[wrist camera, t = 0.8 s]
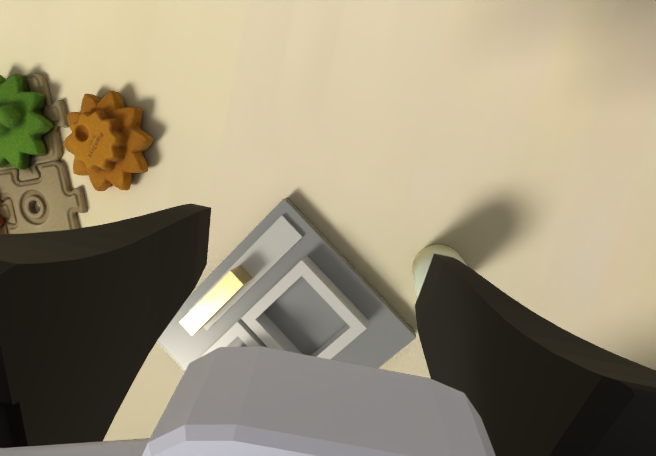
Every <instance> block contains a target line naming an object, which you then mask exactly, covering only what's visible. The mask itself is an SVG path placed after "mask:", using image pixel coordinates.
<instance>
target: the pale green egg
mask: <svg viewBox="0 0 656 456" xmlns="http://www.w3.org/2000/svg"><path fill="white" fill-rule="evenodd" d="M434 253H435V254H440V255H444V256H449V257H453V258H455V259H457V260H459V261H461V262H462V263H464V264H465V265H467V264H466V263H465V262H464V260H463V259H462V258H461V257H460V255H459V254H458V253H457V252H456V251H455V250H454V249H452V248H450V247H448V246H445V245H439V244H438V245H431V246H428V247H426V248H424V249H422V250H421V251H420V252H419V253H418V254H417V256H416V257H415V259H414V262H413V276H414V283H415V290H416V295H417V299H418V296H419V293H420V291H421V288H422V285H423V282H424V280H425V277H426V274H427V271H428V269H429V266H430V263H431V260H432V258H433V255H434Z"/></svg>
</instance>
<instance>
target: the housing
mask: <svg viewBox="0 0 656 456" xmlns="http://www.w3.org/2000/svg"><path fill="white" fill-rule="evenodd" d="M239 265H241V266H242V267H243V268H244V269H245V270H246V271H247V272H248V273H249V274H250V275H251V276H252V277H253V279H252V280H251V281H250V282H248V283H247V284H246V285H245V286H244V287H243V288H242V289H241V290H240V291H239V292H238V293H237V294H236V295H235V296H234V297H233V298H232V299H231V300H230V301H229V302H228V303H227V304H226V305H225V306H224V307H223V308H222V309H221V310H220V311H219V312H218V313H217V314H216V315H215V316H214V317H213V318H212V319H211V320H210V321H209V322H208V323H207V324H206V325H205V326H204V327H203V328H201V329H200V330H199V331H198V332H196V333H195V334H194V335H191V334H190V333H189V332H188V331H187V330H186V329H185V328H184V327H183V326H182V325H181V323H180V321H181V320H182V319H183V318H184V317H185V316H186V315H187V314H188V313H189V312H190V311H191V310H192V309H193V308H194V307H195V306H196V305H197V304H198V303H199V302H200V301H201V300H202V299H203V298H204V297H205V296H206V295H207V294H208V293H209V292H210V291H211V290H212V289H213V288H214V286H215V285H216V284H217V283H218V282H219V281H220V280H221V279H222V278H223V277H224V276H225V275H226V274H227V273H228V272H229V271H230V270H232V269H234V268H236V267H237V266H239ZM415 338H416V334H415V331H414V330H413V329H412V328H411V327H410V326H409V325H408V324H407V323H406V322H405V321H404V320H403V319H402V318H401V317H400V315H399V314H398V313H397V312H396V311H395V310H394V309H393V308H392V307H391V306H390V305H389V304H388V303H387V302H386V301H385V300H384V299H383V298H382V297H381V296H380V294H379V293H378V292H377V291H376V290H375V289H374V288H373V287H372V286H371V285H370V284H369V283H368V282H367V281H366V280H365V279H364V278H363V277H362V276H361V275H360V273H359V272H358V271H357V270H356V269H355V268H354V267H353V266H352V265H351V264H350V263H349V262H348V261H347V260H346V259H345V258H344V257H343V256H342V255H341V254H340V253H339V251H338V250H337V249H336V248H335V247H334V246H333V245H332V244H331V243H330V242H329V241H328V240H327V239H326V238H325V237H324V236H323V235H322V234H321V233H320V232H319V230H318V229H317V228H316V227H315V226H314V225H313V224H312V223H311V222H310V221H309V220H308V219H307V218H306V217H305V216H304V215H303V214H302V213H301V212H300V211H299V209H298V208H297V207H296V206H295V205H294V204H293V203H292V202H291V201H290V200H289V199H288V198H285V199H283V200H282V201H281V202H280V203H279V204H278V205H277V206H276V207H275V208H274V209H273V210H272V211H271V212H270V213H269V214H268V215H267V216H266V218H265V219H264V220H263V221H262V222H261V223H260V224H259V225H258V226H257V227H256V228H255V229H254V230H253V231H252V232H251V233H250V234H249V235H248V236H247V237H246V238H245V239H244V240H243V241H242V242H241V243H240V244H239V245H238V246H237V247H236V249H235V250H234V251H233V252H232V253H231V254H230V255H229V256H228V257H227V258H226V259H225V260H224V261H223V262H222V263H221V264H220V265H219V266H218V267H217V268H216V269H215V270H214V271H213V272H212V273H211V274H210V275H209V276H208V277H207V278H206V280H205V281H204V282H203V283H202V284H201V285H200V286H199V287H198V288H197V289H196V290H195V291H194V292H193V293H192V294H191V295H190V296H189V297H188V298H187V300H186V301H185V302H184V304H183V305H182V307H181V308H180V310H179V311H178V312H177V314H176V315H175V316H174V318H173V319H172V321H171V322H170V323H169V325H168V326H167V328H166V329H165V330H164V332H163V333H162V335H161V336H160V337H159V339H158V340H157V342H158V343H159V344H160V345H161V346H162V347H163V348H164V349H165V351H166V352H167V353H168V354H169V355H170V356H171V357H172V358H173V359H174V360H175V361H176V362H177V364H178V365H179V366H180V367H181V368H182V369H183V370H184V371H186V369H187V367H188V365H189V363H191V362H193V361H195V360H197V359H198V358H200V357H202V356H204V355H206V354H208V353H210V352H211V351H213V350H215V349H217V348H219V347H247V346H262V347H267V348H272V349H277V350H283V351H288V352H293V353H299V354H304V355H309V356H314V357H320V358H325V359H330V360H336V361H341V362H346V363H351V364H357V365H362V366H367V367H372V368H379V367H380V366H381V365H383V364H384V363H385V362H386V361H388V360H389V359H390V358H391V357H393V356H394V355H395V354H396V353H397V352H399V351H400V350H401V349H402V348H404V347H405V346H406V345H407V344H409V343H410V342H411V341H412V340H414V339H415ZM183 374H184V373H183Z"/></svg>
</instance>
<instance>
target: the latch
mask: <svg viewBox="0 0 656 456" xmlns="http://www.w3.org/2000/svg"><path fill="white" fill-rule="evenodd" d="M252 279H253V277H252V276H251V275H250V274H249V273H248V272H247V271H246V270H245V269H244V268H243V267H242V266H241V265H239V266H237V267H236V268H234V269H232V270H230V271H229V272H228V273H227V274H226V275H225V276H224V277H223V278H222V279H221V280H220V281H219V282H218V283H217V284H216V285H215V286H214V288H213V289H212V290H211V291H210V292H209V293H208V294H207V295H206V296H205V297H204V298H203V299H202V300H201V301H200V302H199V303H198V304H197V305H196V306H195V307H194V308H193V309H192V310H191V311H190V312H189V313H188V314H187V315H186V316H185V317H184V318H183V319H182V320H181V321H180V323H181V325H182V326H183V327H184V328H185V329H186V330H187V331H188V332H189V333H190V334H191V335H194V334H195V333H196V332H198V331H199V330H200V329H201V328H203V327H204V326H205V325H206V324H207V323H208V322H209V321H210V320H211V319H212V318H213V317H214V316H215V315H216V314H217V313H218V312H219V311H220V310H221V309H222V308H223V307H224V306H225V305H226V304H227V303H228V302H229V301H230V300H231V299H232V298H233V297H234V296H235V295H236V294H237V293H238V292H239V291H240V290H241V289H242V288H243V287H244V286H245V285H246V284H247V283H248V282H250V281H251V280H252Z"/></svg>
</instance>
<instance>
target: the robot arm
mask: <svg viewBox="0 0 656 456" xmlns="http://www.w3.org/2000/svg"><path fill="white" fill-rule="evenodd" d="M210 215H211V208H210V207H205V206H200V205H195V204H186V205H181V206H176V207H173V208H169V209H165V210H161V211H158V212H154V213H150V214H147V215H143V216H139V217H135V218H130V219H126V220H122V221H117V222H113V223H108V224H103V225H98V226H92V227H85V228H78V229H71V230H62V231H49V232H37V233H24V234H0V456H656V371H655V370H652V369H650V368H647V367H645V366H642V365H640V364H638V363H635V362H633V361H630V360H628V359H625V358H623V357H620V356H618V355H616V354H614V353H611V352H609V351H607V350H604V349H602V348H600V347H598V346H596V345H594V344H592V343H590V342H588V341H586V340H584V339H581V338H579V337H577V336H575V335H573V334H571V333H569V332H568V331H566V330H564V329H562V328H560V327H558V326H556V325H555V324H553V323H551V322H549V321H548V320H546V319H544V318H542V317H541V316H539V315H537V314H536V313H534V312H532V311H531V310H529V309H528V308H526V307H525V306H523V305H522V304H520V303H519V302H517V301H516V300H514V299H513V298H511V297H510V296H508V295H507V294H505V293H504V292H502V291H501V290H500V289H498V288H497V287H496V286H494V285H493V284H491V283H490V282H489V281H487V280H486V279H485V278H483V277H482V276H481V275H479V274H478V273H476V272H475V271H474V270H472V269H471V268H470V267H468V266H467V265H465V264H464V263H462V262H461V261H459V260H457V259H455V258H453V257H449V256H444V255H440V254H435V253H434V255H433V258H432V260H431V263H430V266H429V269H428V271H427V274H426V277H425V280H424V282H423V285H422V288H421V291H420V293H419V296H418V299H417V302H416V304H415V309H416V320H417V327H418V333H419V337H420V341H421V344H422V348H423V352H424V355H425V359H426V362H427V366H428V369H429V373H430V376H431V379H430V378H425V377H420V376H415V375H409V374H404V373H399V372H394V371H388V370H383V369H378V368H372V367H367V366H362V365H357V364H351V363H346V362H341V361H336V360H330V359H325V358H320V357H314V356H309V355H304V354H299V353H293V352H288V351H283V350H277V349H272V348H267V347H262V346H247V347H219V348H217V349H215V350H213V351H211V352H210V353H208V354H206V355H204V356H202V357H200V358H198V359H197V360H195V361H193V362H191V363H189V365H188V367H187V369H186V371H185V373H184V375H183V376H182V378H181V380H180V382H179V384H178V386H177V388H176V390H175V392H174V394H173V396H172V397H171V399H170V401H169V403H168V405H167V407H166V409H165V411H164V413H163V415H162V417H161V418H160V420H159V422H158V424H157V426H156V428H155V430H154V432H153V434H152V436H151V438H147V439H132V440H117V441H103V439H104V437H105V435H106V433H107V431H108V429H109V427H110V425H111V423H112V421H113V419H114V417H115V415H116V413H117V411H118V409H119V407H120V406H121V404H122V402H123V400H124V398H125V396H126V394H127V392H128V390H129V389H130V387H131V385H132V383H133V381H134V379H135V377H136V376H137V374H138V372H139V370H140V368H141V367H142V365H143V363H144V361H145V359H146V358H147V356H148V354H149V352H150V351H151V349H152V348H153V346H154V345H155V343H156V342H157V340H158V339H159V337H160V336H161V335H162V333H163V332H164V330H165V329H166V328H167V326H168V325H169V323H170V322H171V321H172V319H173V318H174V316H175V315H176V314H177V312H178V311H179V310H180V308H181V307H182V305H183V304H184V302H185V301H186V300H187V298H188V297H189V295H190V294H191V293H192V291H193V290H194V288H195V286H196V284H197V282H198V280H199V279H200V277H201V275H202V272H203V270H204V268H205V266H206V264H207V252H208V240H209V227H210Z"/></svg>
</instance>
